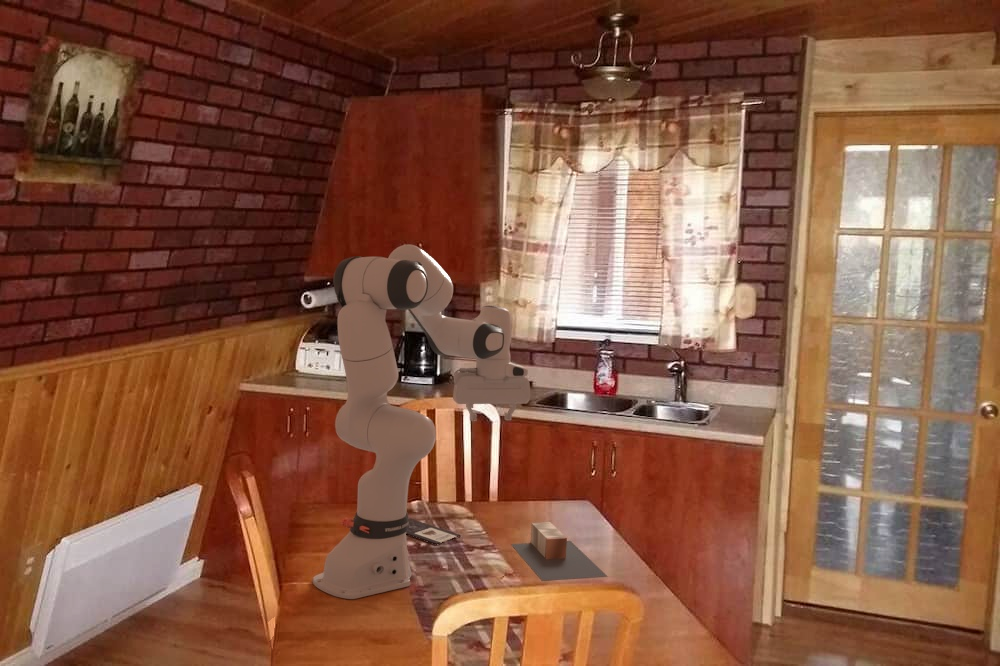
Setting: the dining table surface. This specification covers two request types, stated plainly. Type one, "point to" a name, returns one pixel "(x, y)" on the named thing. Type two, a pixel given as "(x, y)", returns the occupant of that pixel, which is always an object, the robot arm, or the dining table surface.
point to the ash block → (548, 540)
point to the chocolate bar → (429, 532)
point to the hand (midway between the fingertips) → (490, 420)
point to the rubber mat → (559, 563)
